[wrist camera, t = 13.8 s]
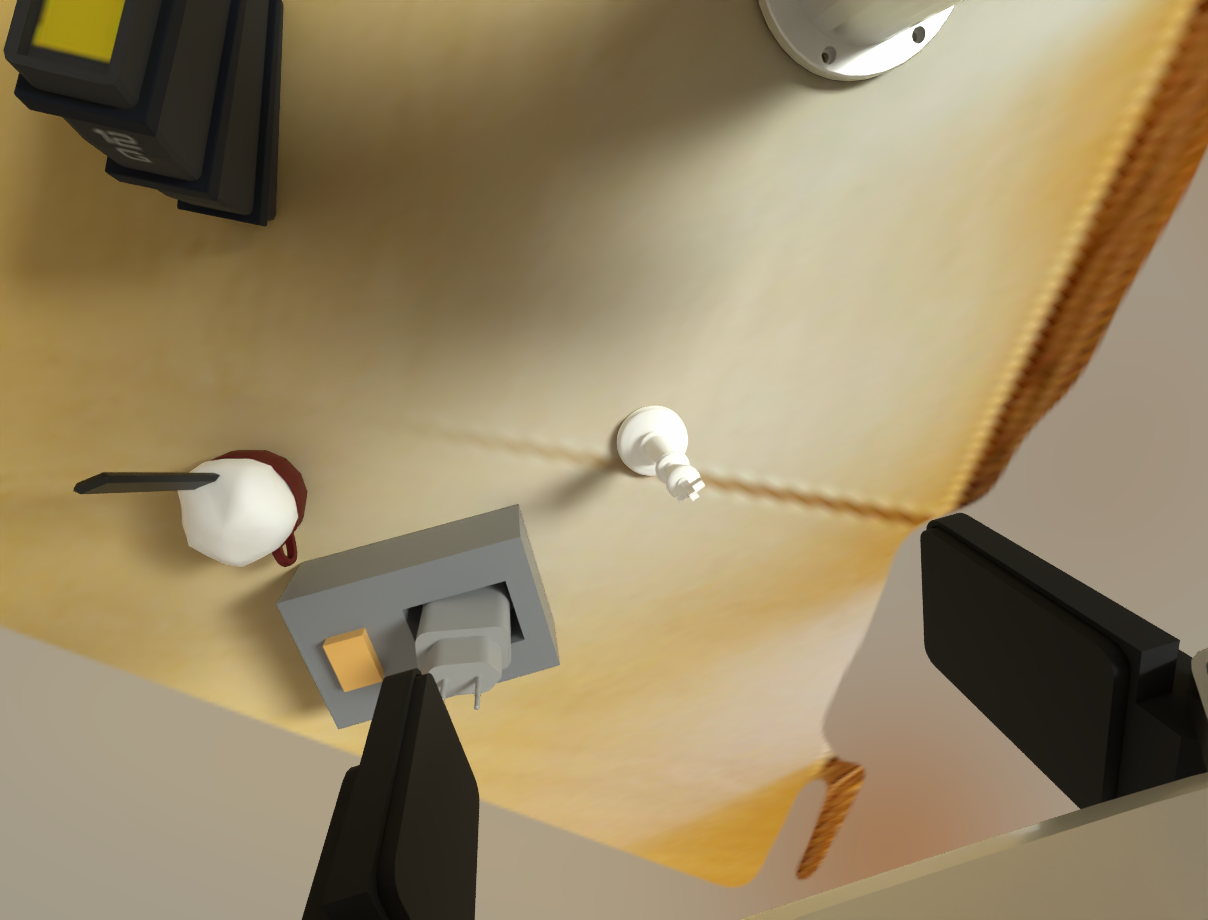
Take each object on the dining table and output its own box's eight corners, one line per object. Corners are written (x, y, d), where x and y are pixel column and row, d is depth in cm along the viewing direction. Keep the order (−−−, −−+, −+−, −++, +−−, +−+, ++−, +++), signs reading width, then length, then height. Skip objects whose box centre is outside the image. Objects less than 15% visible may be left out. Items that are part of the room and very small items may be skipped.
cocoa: (327, 541, 41) (261, 655, 30) (224, 548, 40) (116, 668, 29) (304, 401, 38) (221, 469, 27) (192, 405, 37) (56, 477, 26)
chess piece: (698, 447, 43) (753, 504, 34) (640, 486, 43) (678, 553, 34) (663, 391, 41) (710, 434, 32) (602, 432, 42) (631, 487, 32)
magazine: (195, 270, 33) (-15, 67, 18) (242, 50, 35) (84, -294, 20) (270, 284, 34) (126, 100, 19) (313, 68, 36) (210, -250, 21)
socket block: (518, 504, 42) (520, 542, 37) (554, 622, 46) (561, 672, 40) (301, 563, 41) (271, 611, 36) (355, 678, 45) (335, 738, 39)
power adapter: (510, 604, 44) (513, 728, 32) (431, 610, 43) (406, 740, 32) (508, 565, 43) (510, 680, 31) (427, 571, 42) (401, 690, 31)
